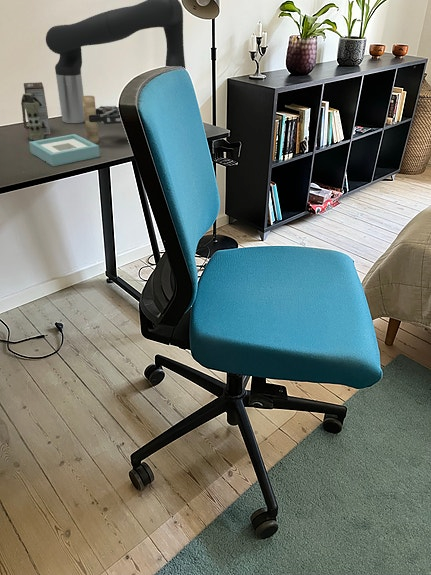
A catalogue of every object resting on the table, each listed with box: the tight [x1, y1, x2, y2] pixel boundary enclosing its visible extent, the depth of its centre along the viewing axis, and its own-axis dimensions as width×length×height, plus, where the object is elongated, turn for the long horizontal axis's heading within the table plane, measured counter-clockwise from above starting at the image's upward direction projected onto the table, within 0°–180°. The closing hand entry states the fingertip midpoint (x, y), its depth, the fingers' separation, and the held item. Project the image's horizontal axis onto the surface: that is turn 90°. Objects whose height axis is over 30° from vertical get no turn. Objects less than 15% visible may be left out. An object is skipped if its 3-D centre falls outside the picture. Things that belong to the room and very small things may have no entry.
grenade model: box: [20, 92, 46, 141], centre depth 161 cm, size 6×7×15 cm
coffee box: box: [23, 81, 52, 136], centre depth 167 cm, size 9×6×16 cm
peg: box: [82, 95, 100, 145], centre depth 159 cm, size 4×4×15 cm
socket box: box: [28, 133, 101, 167], centre depth 150 cm, size 16×16×4 cm
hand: (88, 115), depth 158 cm, fingers open, 8 cm apart
